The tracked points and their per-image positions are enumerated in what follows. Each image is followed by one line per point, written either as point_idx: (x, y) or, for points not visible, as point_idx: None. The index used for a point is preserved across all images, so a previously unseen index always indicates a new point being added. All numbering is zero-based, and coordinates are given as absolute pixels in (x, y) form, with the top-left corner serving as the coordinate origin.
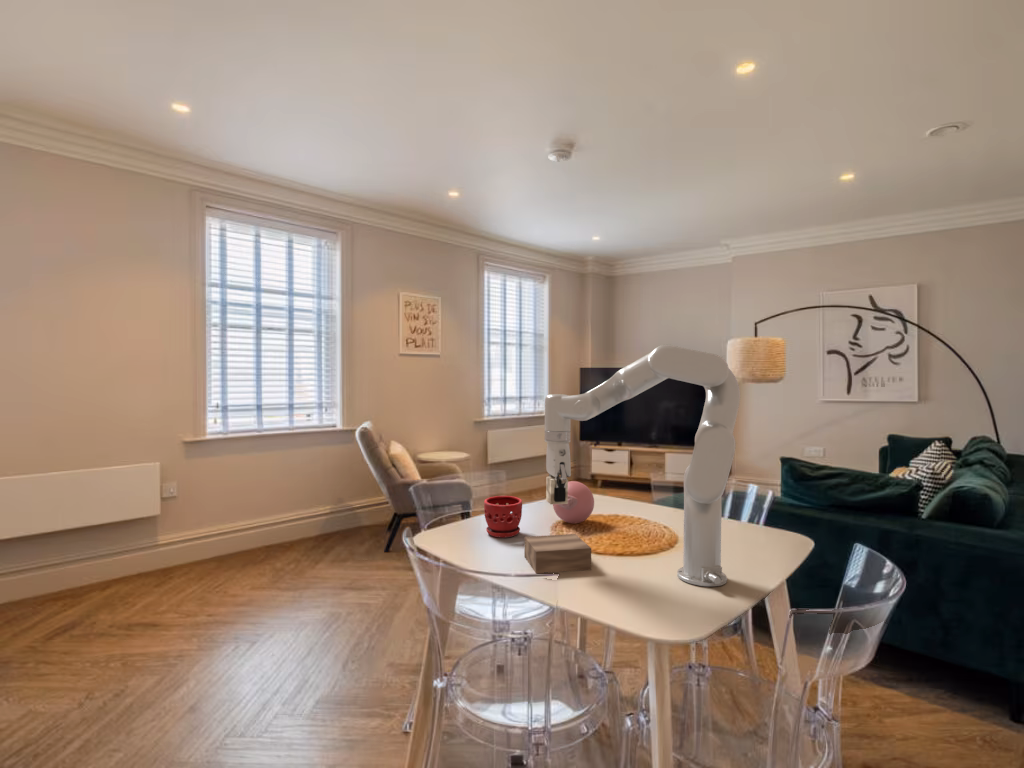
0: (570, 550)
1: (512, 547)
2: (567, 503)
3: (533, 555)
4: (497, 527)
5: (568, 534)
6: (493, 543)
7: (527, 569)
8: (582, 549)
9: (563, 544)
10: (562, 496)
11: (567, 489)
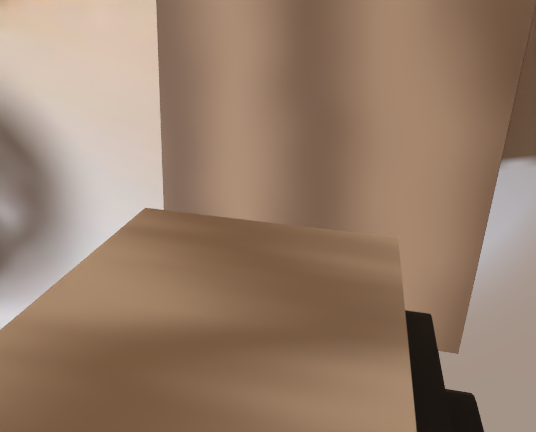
0: (503, 140)
1: (66, 262)
2: (398, 242)
3: None
4: None
5: (161, 17)
6: (7, 319)
7: None
8: (525, 45)
9: (380, 146)
10: (474, 429)
11: (407, 387)
